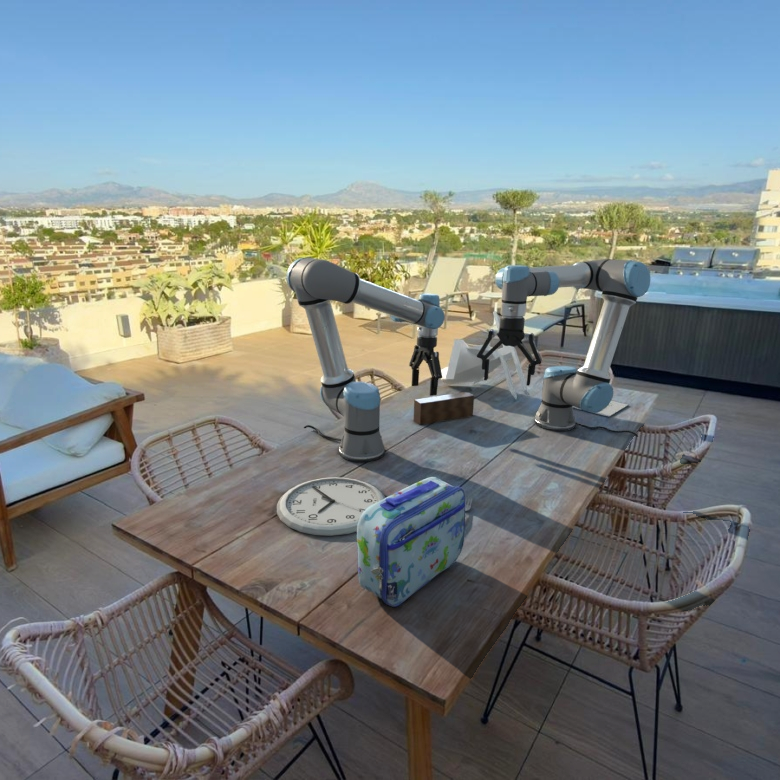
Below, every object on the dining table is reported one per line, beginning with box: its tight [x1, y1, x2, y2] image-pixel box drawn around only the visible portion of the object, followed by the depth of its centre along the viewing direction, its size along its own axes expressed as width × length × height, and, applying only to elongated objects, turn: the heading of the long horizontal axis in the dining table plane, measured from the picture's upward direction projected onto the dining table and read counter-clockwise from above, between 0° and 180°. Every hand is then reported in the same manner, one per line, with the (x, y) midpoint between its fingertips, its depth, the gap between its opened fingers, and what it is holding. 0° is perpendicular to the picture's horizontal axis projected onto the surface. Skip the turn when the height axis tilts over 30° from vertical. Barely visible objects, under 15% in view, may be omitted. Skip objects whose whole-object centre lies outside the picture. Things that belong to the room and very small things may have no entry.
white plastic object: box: [440, 310, 531, 400], centre depth 245 cm, size 37×45×31 cm
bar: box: [413, 391, 475, 426], centre depth 208 cm, size 25×5×9 cm, turn 117°
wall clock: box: [276, 476, 386, 537], centre depth 142 cm, size 30×2×30 cm
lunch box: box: [356, 476, 466, 608], centre depth 110 cm, size 26×11×21 cm, turn 134°
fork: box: [465, 496, 473, 512], centre depth 138 cm, size 3×16×2 cm, turn 160°
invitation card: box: [573, 400, 629, 418], centre depth 226 cm, size 21×1×15 cm
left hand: (423, 390), depth 201 cm, fingers open, 13 cm apart
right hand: (506, 382), depth 169 cm, fingers open, 13 cm apart
